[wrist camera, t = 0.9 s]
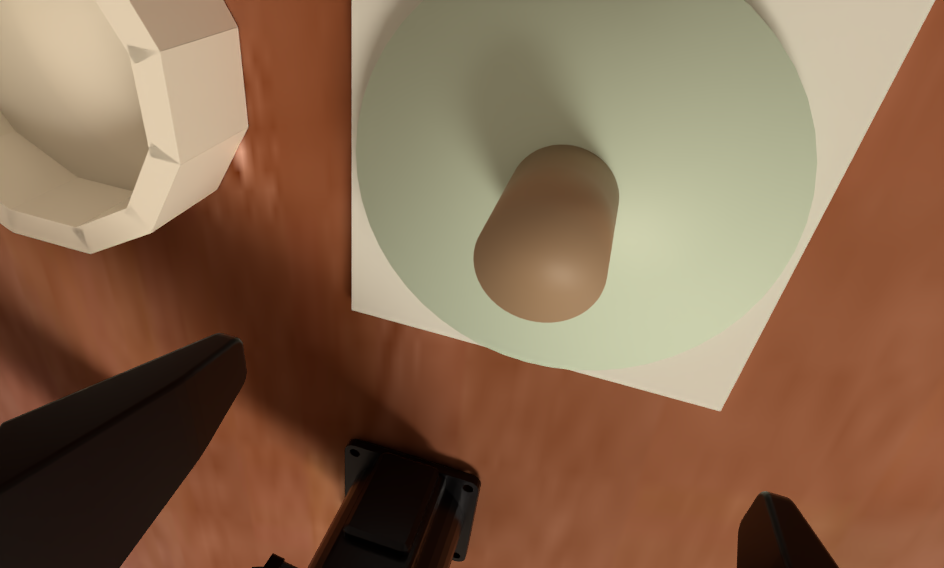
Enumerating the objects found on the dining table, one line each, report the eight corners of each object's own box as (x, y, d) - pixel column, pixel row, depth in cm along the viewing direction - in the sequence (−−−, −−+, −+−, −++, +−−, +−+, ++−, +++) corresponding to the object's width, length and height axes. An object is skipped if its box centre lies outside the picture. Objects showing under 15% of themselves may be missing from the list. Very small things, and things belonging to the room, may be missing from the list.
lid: (710, 396, 21) (720, 513, 17) (363, 302, 23) (301, 387, 19) (915, -14, 13) (1018, 26, 9) (370, -101, 15) (268, -98, 11)
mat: (719, 403, 21) (720, 411, 21) (356, 304, 23) (351, 309, 23) (946, -37, 13) (953, -35, 13) (358, -126, 15) (351, -127, 15)
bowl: (259, 236, 23) (202, 285, 20) (-1, 168, 25) (-87, 204, 22) (220, -147, 16) (123, -156, 13) (-138, -202, 18) (-291, -219, 15)
